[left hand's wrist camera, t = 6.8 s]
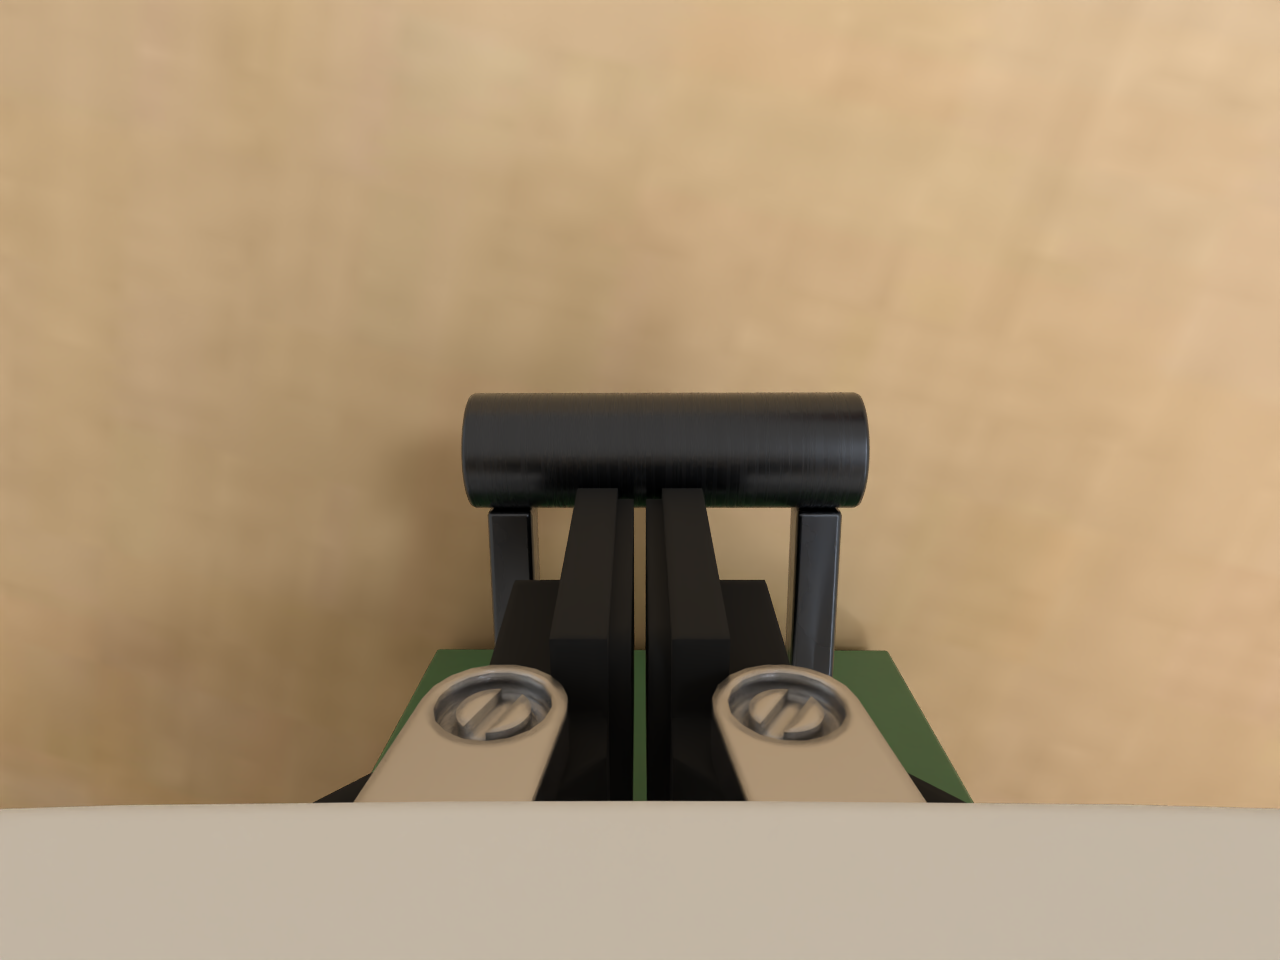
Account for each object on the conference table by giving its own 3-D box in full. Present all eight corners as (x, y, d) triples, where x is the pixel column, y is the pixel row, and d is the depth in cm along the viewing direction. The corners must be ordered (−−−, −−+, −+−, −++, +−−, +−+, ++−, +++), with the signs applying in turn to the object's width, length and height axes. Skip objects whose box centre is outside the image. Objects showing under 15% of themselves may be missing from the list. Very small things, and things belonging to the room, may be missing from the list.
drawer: (416, 350, 17) (259, 419, 10) (909, 348, 16) (1079, 417, 10) (475, 1200, 22) (397, 1607, 15) (848, 1205, 22) (930, 1619, 15)
